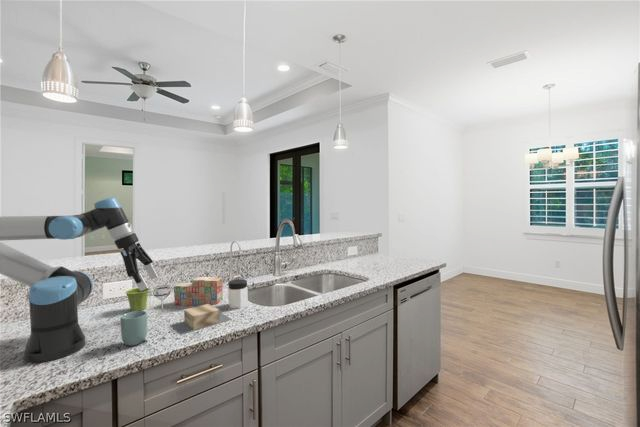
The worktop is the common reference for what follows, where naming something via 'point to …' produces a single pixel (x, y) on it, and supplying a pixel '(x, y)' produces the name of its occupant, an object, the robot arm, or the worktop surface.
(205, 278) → the stack of blocks
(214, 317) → the oak riser
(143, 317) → the cup
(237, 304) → the jar
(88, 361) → the worktop surface
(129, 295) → the plant pot
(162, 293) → the wineglass
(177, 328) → the base board
